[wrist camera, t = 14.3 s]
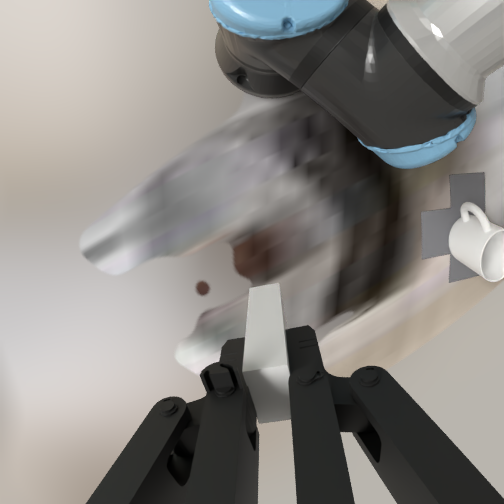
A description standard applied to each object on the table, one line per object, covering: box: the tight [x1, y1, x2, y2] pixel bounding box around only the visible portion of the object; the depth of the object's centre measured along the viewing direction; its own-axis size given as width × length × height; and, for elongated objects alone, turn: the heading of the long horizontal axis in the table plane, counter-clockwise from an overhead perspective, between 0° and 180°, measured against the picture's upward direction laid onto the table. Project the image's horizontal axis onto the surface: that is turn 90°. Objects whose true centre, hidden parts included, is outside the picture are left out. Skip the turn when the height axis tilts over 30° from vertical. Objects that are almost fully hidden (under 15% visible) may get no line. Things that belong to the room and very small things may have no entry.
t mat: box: [421, 172, 485, 283], centre depth 47 cm, size 19×14×1 cm
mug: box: [449, 202, 504, 282], centre depth 42 cm, size 12×8×10 cm
